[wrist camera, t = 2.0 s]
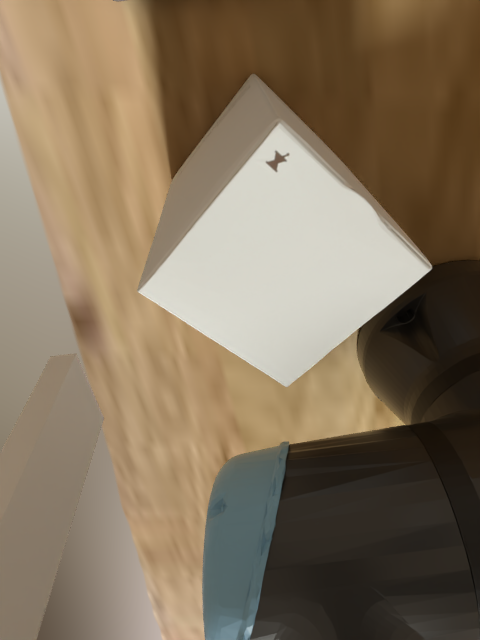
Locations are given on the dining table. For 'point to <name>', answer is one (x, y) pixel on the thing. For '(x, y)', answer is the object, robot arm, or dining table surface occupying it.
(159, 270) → the supplement box
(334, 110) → the dining table surface
